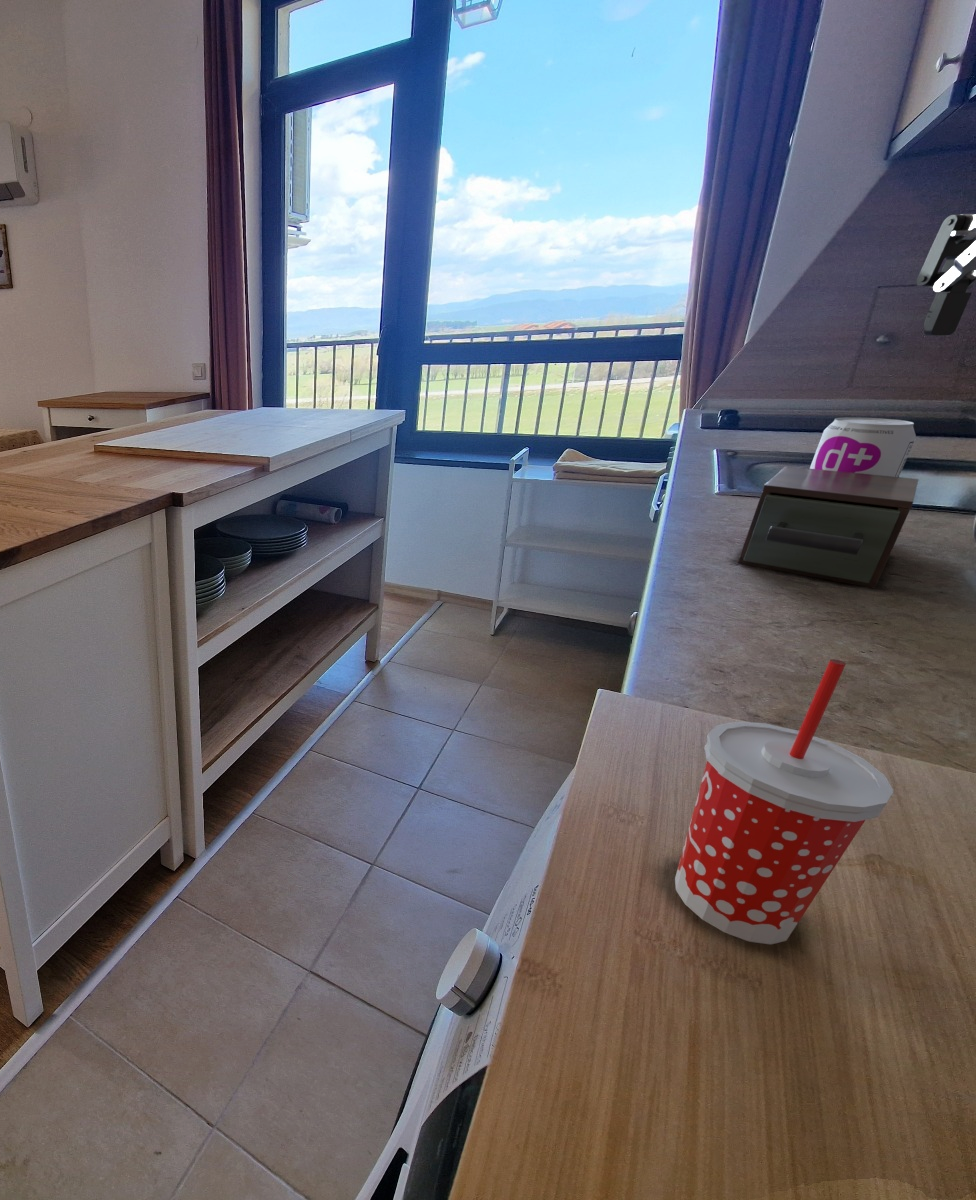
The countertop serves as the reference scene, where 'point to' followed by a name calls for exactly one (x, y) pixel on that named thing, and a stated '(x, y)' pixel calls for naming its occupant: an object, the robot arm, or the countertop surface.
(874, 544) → the drawer
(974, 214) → the robot arm
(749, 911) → the beverage cup
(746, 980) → the countertop surface
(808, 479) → the cabinet
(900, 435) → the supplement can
